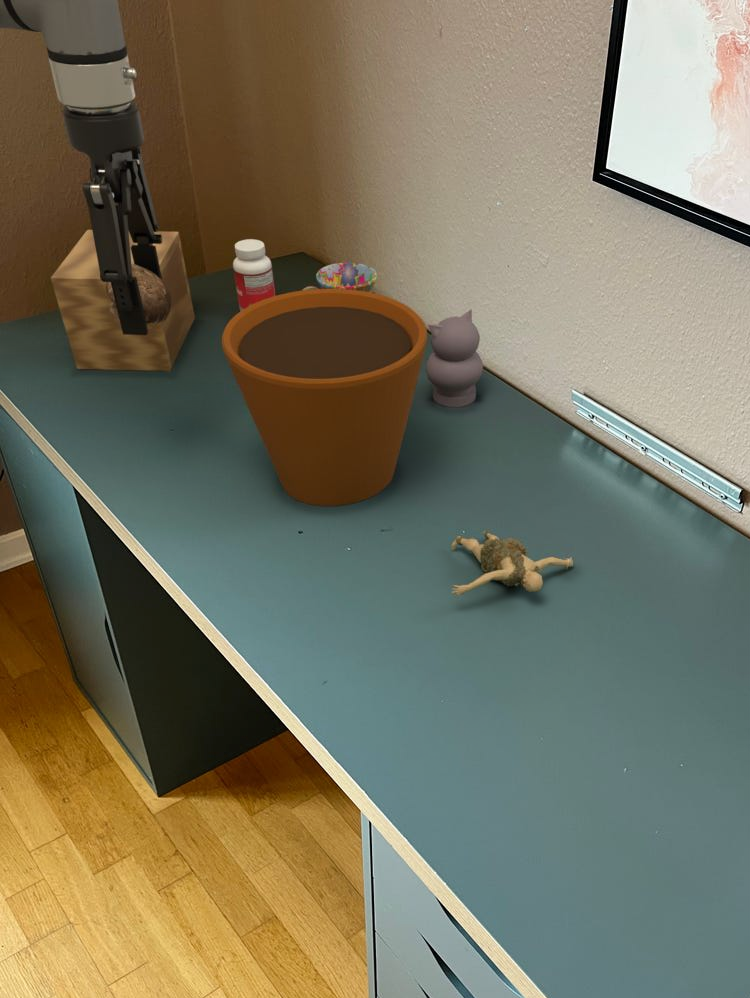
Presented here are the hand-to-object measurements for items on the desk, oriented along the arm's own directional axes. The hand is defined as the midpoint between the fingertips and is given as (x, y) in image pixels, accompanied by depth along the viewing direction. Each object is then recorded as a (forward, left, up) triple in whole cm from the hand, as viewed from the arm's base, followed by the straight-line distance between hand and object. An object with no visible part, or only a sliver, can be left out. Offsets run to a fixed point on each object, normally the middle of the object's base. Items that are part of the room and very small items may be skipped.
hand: (145, 316), depth 113 cm
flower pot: (+22, -3, -20) cm, 30 cm away
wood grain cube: (-13, +33, -20) cm, 41 cm away
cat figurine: (+37, +18, -20) cm, 46 cm away
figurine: (+43, -23, -20) cm, 53 cm away
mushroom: (0, 0, 0) cm, 1 cm away
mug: (+19, +35, -20) cm, 44 cm away
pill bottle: (+4, +45, -20) cm, 49 cm away
